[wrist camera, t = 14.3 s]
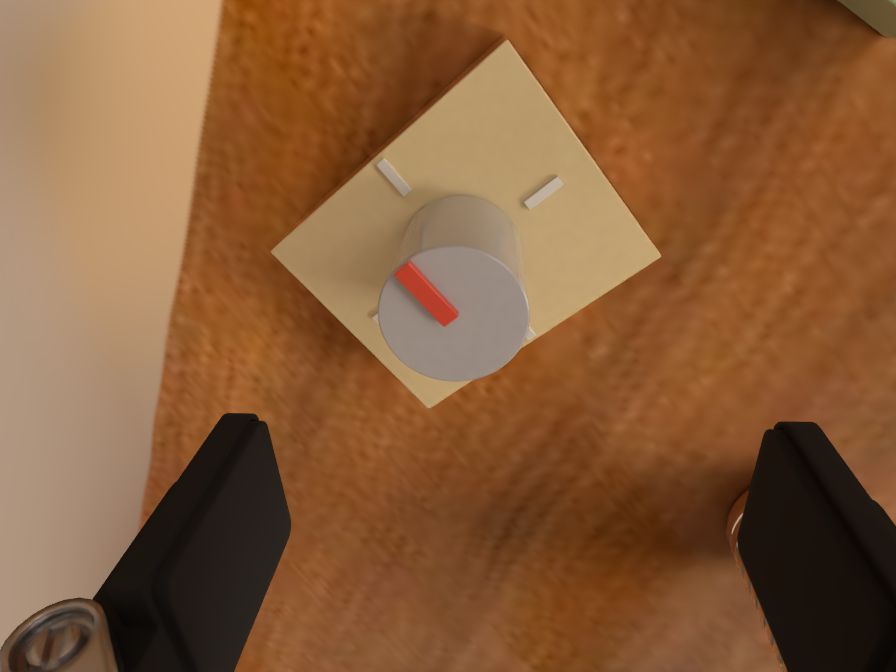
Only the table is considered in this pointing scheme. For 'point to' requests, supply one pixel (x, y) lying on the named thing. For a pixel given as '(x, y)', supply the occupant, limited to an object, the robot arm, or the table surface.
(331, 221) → the plate
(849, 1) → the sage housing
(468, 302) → the steel knob
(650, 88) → the table surface
